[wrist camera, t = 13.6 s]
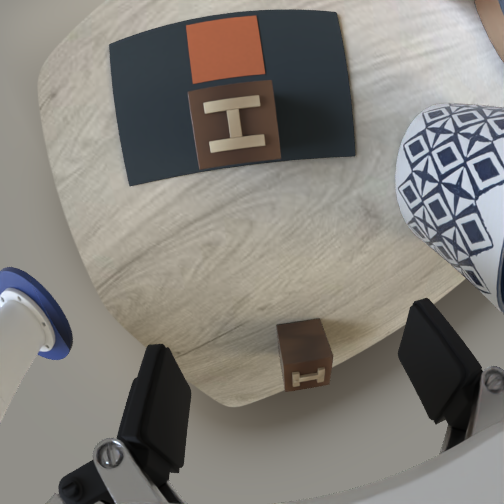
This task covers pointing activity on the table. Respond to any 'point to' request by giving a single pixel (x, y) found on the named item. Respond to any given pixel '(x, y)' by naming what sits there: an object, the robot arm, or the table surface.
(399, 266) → the table surface
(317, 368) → the block
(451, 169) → the planter
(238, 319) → the table surface
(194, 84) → the word mat
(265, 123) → the block
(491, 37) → the alarm clock
